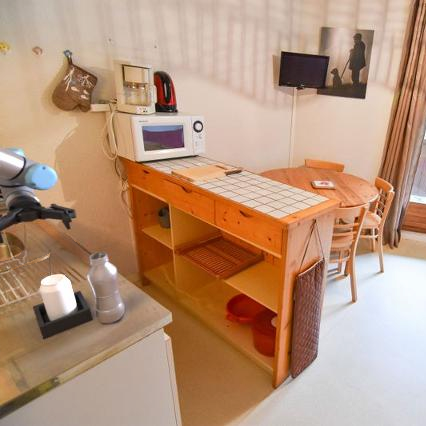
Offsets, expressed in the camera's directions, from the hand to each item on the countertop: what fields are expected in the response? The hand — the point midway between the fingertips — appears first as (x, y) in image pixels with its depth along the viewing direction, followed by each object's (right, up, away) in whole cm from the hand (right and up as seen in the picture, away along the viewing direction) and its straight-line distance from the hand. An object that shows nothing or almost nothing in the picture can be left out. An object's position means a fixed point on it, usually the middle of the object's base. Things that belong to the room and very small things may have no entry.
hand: (36, 231), depth 83 cm
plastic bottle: (+17, -24, +5) cm, 30 cm away
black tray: (+5, -24, +3) cm, 25 cm away
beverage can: (+5, -23, +3) cm, 24 cm away
